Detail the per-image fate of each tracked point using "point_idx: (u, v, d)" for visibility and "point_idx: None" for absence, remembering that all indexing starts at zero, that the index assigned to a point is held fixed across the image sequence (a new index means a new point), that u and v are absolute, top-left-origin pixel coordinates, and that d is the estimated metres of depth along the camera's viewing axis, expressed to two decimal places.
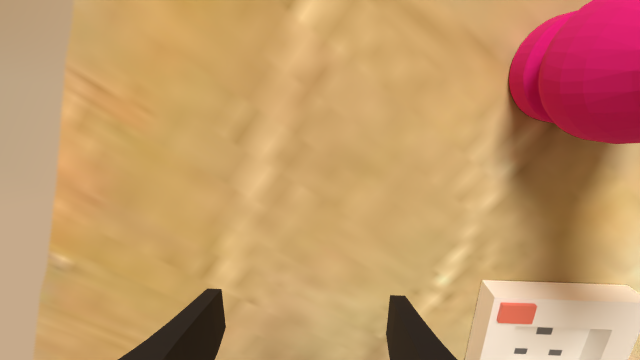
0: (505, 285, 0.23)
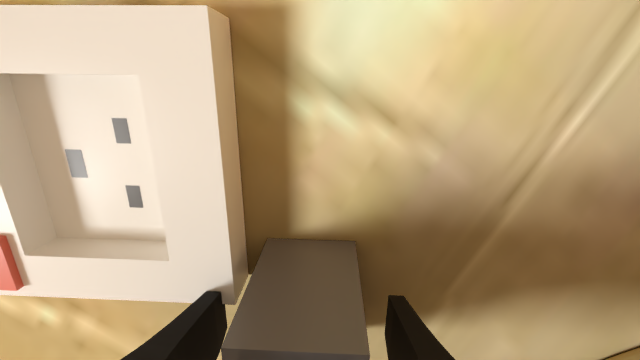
0: None
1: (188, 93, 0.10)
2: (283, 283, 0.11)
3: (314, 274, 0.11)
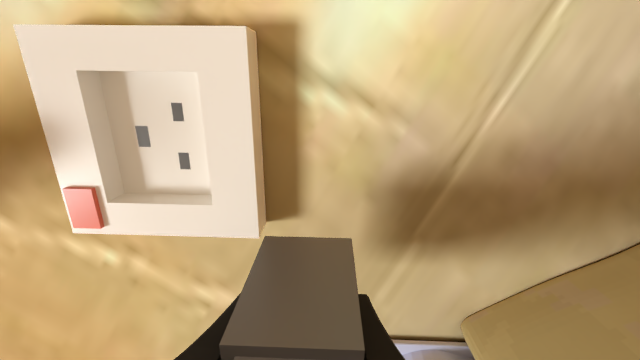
0: None
1: (231, 84, 0.15)
2: (280, 280, 0.11)
3: (310, 271, 0.11)
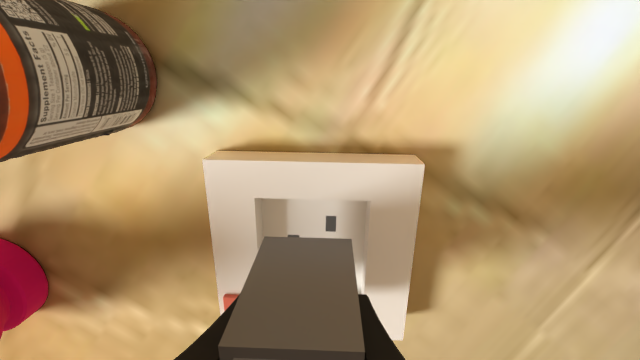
0: None
1: (401, 212, 0.16)
2: (280, 281, 0.11)
3: (310, 272, 0.11)
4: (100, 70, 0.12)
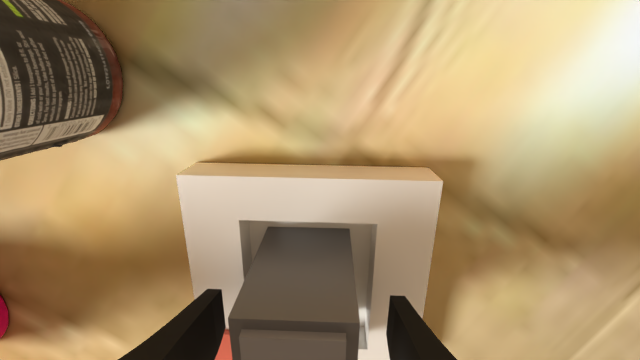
0: None
1: (413, 236, 0.13)
2: (282, 265, 0.12)
3: (310, 257, 0.12)
4: (36, 67, 0.09)
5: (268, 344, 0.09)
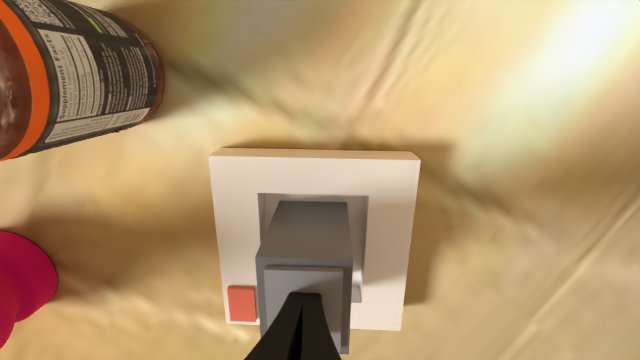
0: None
1: (398, 206, 0.16)
2: (294, 225, 0.15)
3: (315, 221, 0.15)
4: (113, 70, 0.12)
5: (285, 275, 0.12)
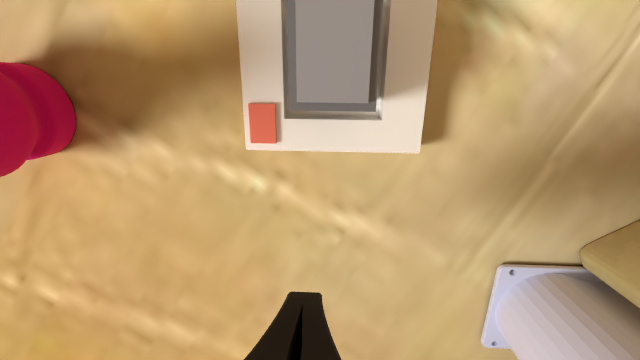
0: None
1: (421, 0, 0.16)
2: None
3: None
4: None
5: (316, 2, 0.12)
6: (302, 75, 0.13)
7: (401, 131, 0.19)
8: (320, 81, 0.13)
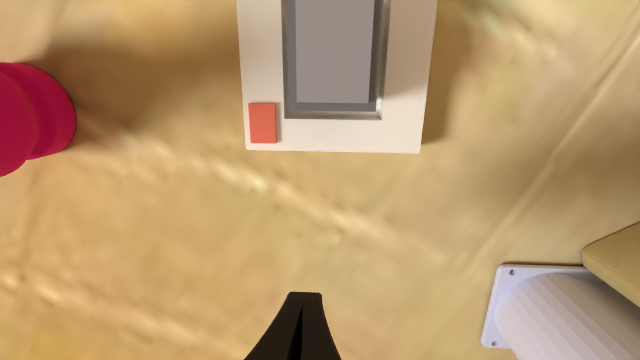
0: None
1: (421, 0, 0.16)
2: None
3: None
4: None
5: (316, 2, 0.12)
6: (302, 75, 0.13)
7: (401, 131, 0.19)
8: (320, 81, 0.13)
